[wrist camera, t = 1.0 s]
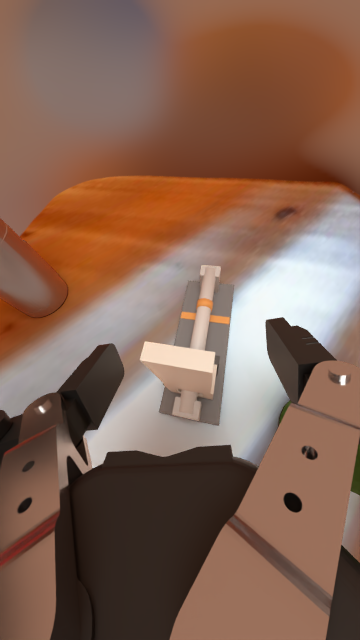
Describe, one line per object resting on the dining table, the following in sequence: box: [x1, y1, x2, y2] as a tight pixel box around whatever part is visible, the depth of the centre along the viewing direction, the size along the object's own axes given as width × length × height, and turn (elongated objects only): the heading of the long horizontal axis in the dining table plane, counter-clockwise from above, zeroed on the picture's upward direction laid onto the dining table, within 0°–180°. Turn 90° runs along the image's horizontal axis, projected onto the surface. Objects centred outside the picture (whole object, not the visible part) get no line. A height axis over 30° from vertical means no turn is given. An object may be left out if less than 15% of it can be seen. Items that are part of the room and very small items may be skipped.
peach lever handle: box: [140, 341, 220, 400], centre depth 22 cm, size 4×6×16 cm
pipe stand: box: [159, 265, 234, 425], centre depth 30 cm, size 22×8×6 cm, turn 169°
